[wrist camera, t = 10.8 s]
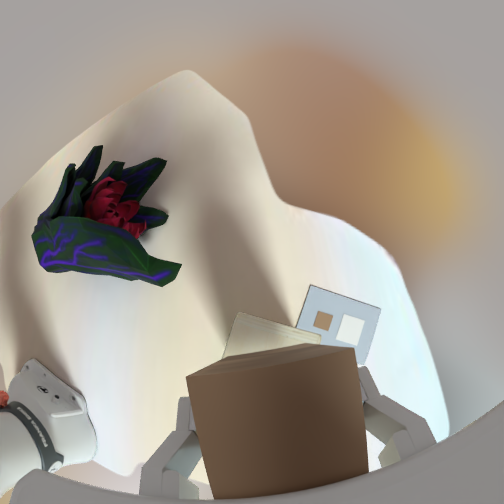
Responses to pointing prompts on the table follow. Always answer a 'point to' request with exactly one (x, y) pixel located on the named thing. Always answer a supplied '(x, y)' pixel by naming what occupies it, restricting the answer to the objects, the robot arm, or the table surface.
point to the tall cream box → (264, 335)
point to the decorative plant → (103, 223)
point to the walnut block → (280, 420)
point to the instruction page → (339, 321)
